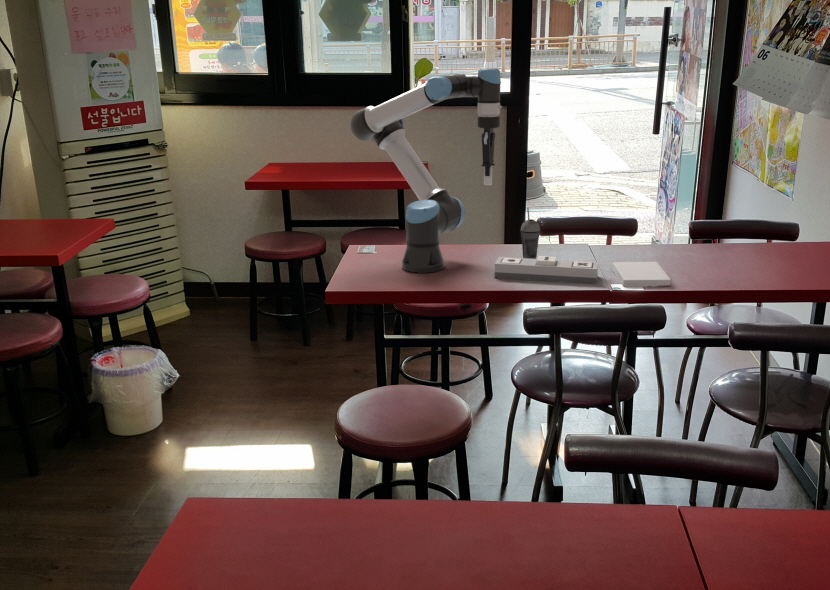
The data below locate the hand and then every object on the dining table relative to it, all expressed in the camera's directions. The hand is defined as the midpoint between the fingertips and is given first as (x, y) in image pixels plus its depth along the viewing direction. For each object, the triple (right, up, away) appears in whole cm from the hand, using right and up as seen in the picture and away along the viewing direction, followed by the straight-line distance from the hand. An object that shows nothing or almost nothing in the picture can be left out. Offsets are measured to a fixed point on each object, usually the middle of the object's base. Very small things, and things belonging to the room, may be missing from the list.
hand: (487, 184), depth 281 cm
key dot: (+8, -29, -3) cm, 30 cm away
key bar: (+19, -28, -6) cm, 35 cm away
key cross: (+31, -30, -9) cm, 44 cm away
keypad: (+19, -32, -5) cm, 38 cm away
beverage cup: (+17, -26, +15) cm, 34 cm away
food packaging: (+51, -33, -8) cm, 61 cm away
